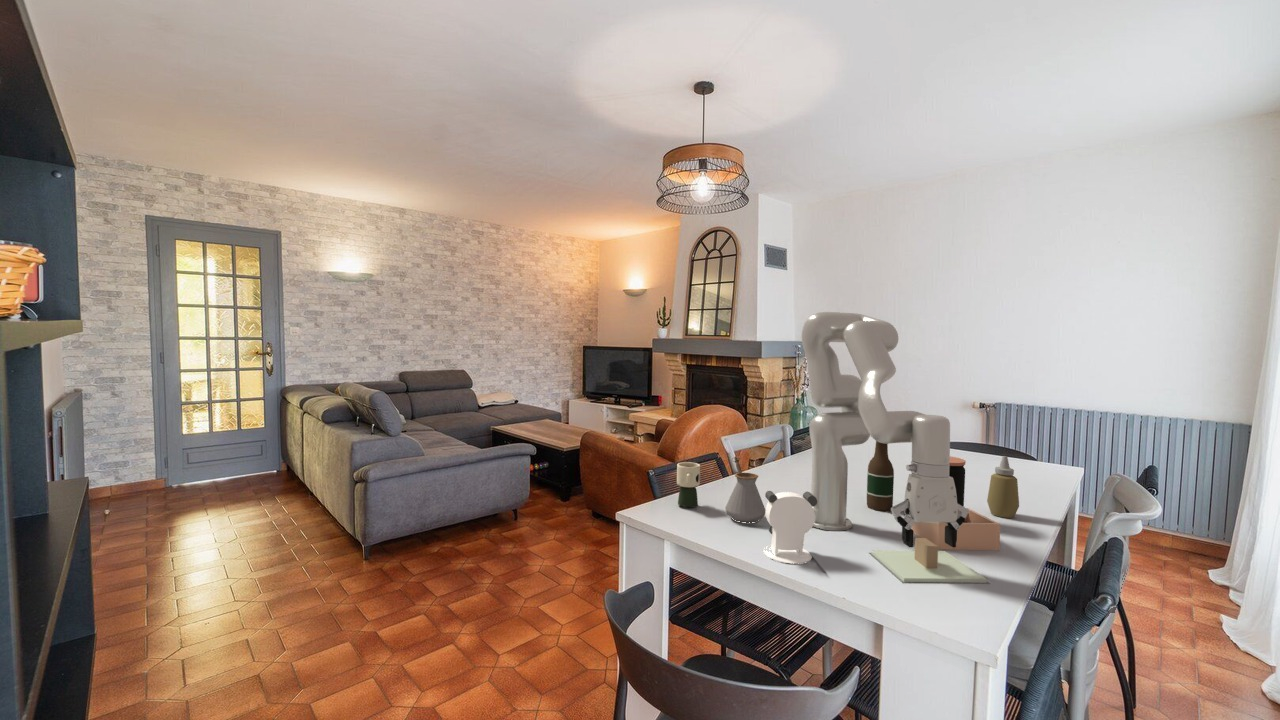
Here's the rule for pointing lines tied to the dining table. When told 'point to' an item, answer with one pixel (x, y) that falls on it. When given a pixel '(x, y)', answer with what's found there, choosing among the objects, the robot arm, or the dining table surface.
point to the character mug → (688, 483)
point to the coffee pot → (745, 498)
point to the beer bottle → (880, 480)
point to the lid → (927, 564)
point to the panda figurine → (789, 525)
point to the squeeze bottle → (1003, 491)
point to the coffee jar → (958, 477)
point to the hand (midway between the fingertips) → (929, 545)
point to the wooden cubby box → (964, 533)
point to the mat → (927, 582)
